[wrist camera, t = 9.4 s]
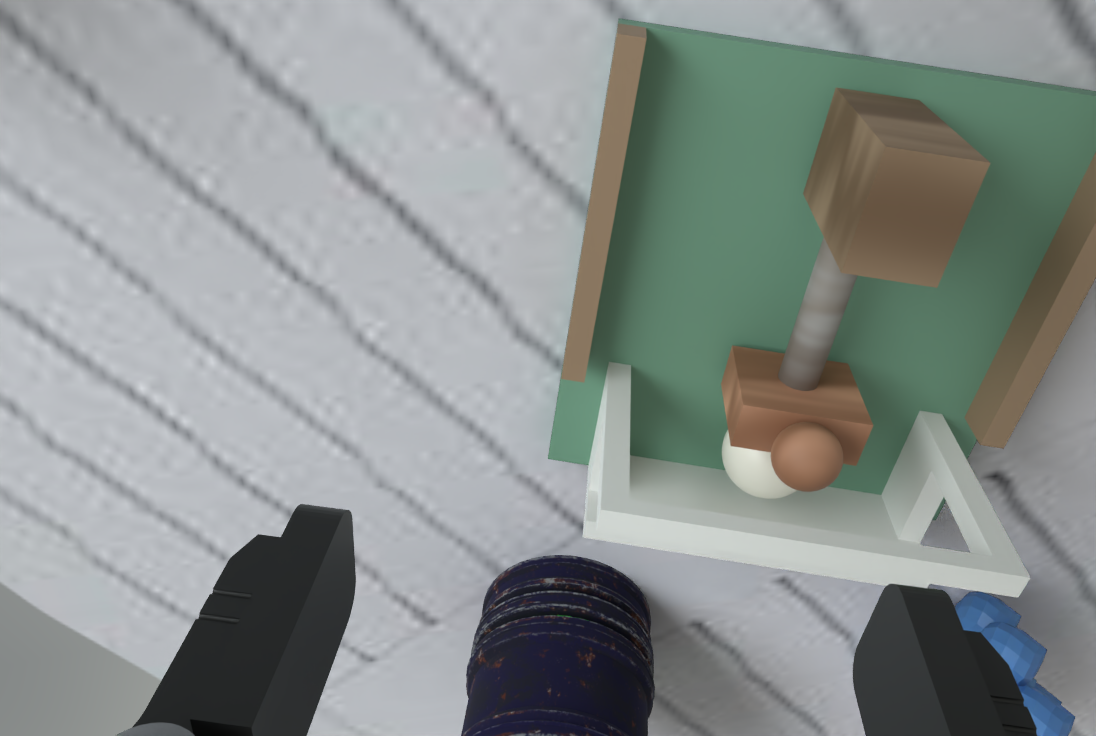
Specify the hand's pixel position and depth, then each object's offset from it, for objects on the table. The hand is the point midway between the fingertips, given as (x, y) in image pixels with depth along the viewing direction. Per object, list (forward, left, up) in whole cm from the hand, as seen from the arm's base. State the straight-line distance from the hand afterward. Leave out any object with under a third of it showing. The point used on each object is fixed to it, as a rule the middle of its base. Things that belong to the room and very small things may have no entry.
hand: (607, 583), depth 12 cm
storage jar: (+28, +2, -24) cm, 37 cm away
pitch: (+6, +9, -24) cm, 26 cm away
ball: (+12, +9, -21) cm, 25 cm away
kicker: (+3, +8, -22) cm, 24 cm away
